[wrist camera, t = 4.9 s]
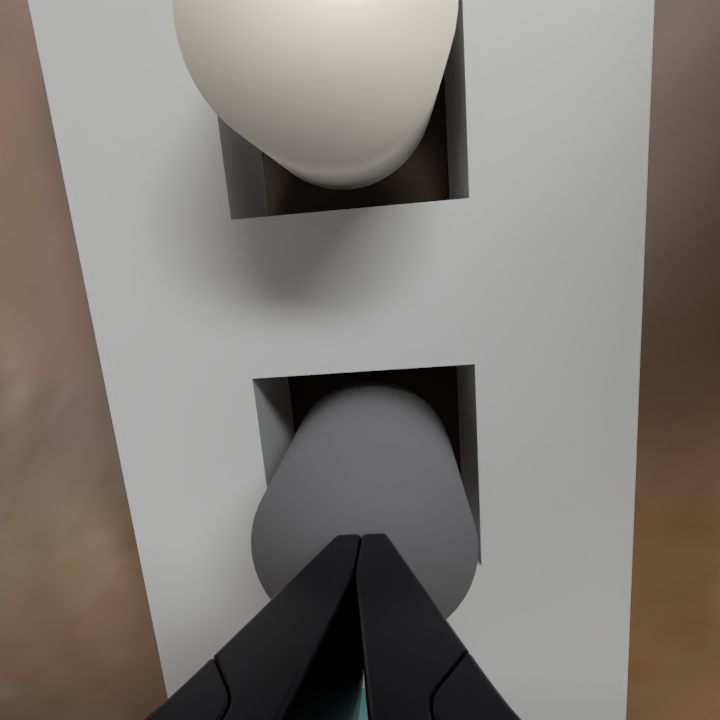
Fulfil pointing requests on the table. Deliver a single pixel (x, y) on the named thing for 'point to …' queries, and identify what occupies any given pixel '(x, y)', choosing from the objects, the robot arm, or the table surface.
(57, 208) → the table surface
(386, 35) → the key ivory
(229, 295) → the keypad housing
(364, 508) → the key charcoal
